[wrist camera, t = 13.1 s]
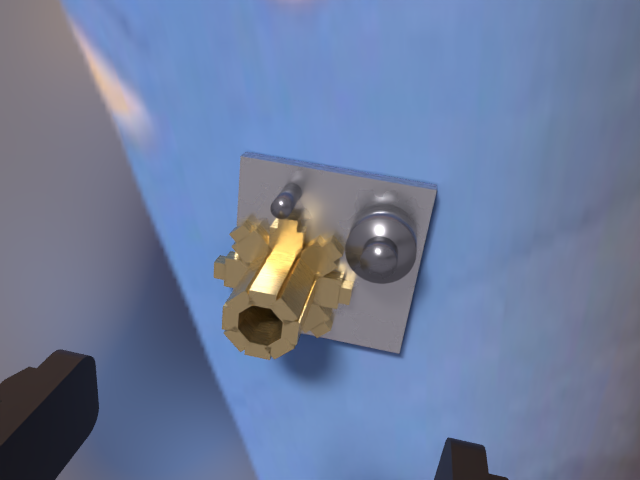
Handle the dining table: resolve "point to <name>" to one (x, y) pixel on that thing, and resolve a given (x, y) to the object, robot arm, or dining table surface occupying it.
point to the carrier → (349, 235)
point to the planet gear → (279, 286)
